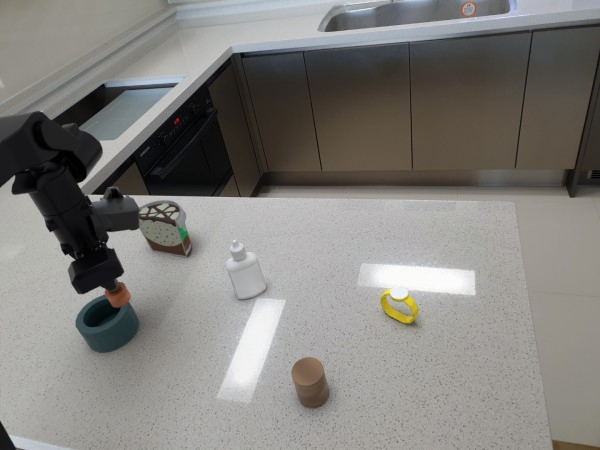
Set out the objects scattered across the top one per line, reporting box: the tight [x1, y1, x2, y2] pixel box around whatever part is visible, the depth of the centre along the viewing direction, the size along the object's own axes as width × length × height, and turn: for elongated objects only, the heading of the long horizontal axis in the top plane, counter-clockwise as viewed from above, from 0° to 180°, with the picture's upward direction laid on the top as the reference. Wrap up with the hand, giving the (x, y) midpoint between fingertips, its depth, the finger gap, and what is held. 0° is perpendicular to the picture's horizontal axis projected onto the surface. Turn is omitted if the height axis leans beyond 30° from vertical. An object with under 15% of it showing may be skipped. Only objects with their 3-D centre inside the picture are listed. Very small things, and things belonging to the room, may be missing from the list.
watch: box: [379, 285, 419, 325], centre depth 71 cm, size 6×3×6 cm, turn 50°
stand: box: [291, 356, 330, 409], centre depth 63 cm, size 4×4×6 cm
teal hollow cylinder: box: [75, 293, 140, 353], centre depth 80 cm, size 9×9×5 cm
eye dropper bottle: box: [225, 239, 267, 300], centre depth 80 cm, size 4×6×12 cm
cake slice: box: [138, 199, 193, 259], centre depth 95 cm, size 12×6×10 cm, turn 66°
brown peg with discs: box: [104, 278, 132, 307], centre depth 70 cm, size 3×3×8 cm
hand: (111, 284), depth 71 cm, fingers closed on brown peg with discs, 2 cm apart
